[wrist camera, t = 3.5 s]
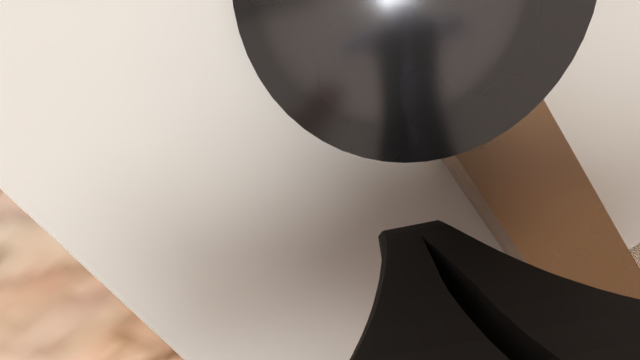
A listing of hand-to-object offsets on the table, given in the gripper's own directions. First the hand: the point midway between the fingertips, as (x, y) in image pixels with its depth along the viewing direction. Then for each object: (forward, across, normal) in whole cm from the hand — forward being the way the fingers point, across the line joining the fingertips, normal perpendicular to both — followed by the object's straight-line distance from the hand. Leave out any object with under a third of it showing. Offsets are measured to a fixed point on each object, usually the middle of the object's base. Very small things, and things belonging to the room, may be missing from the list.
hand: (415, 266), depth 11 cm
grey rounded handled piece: (+1, -1, -3) cm, 4 cm away
